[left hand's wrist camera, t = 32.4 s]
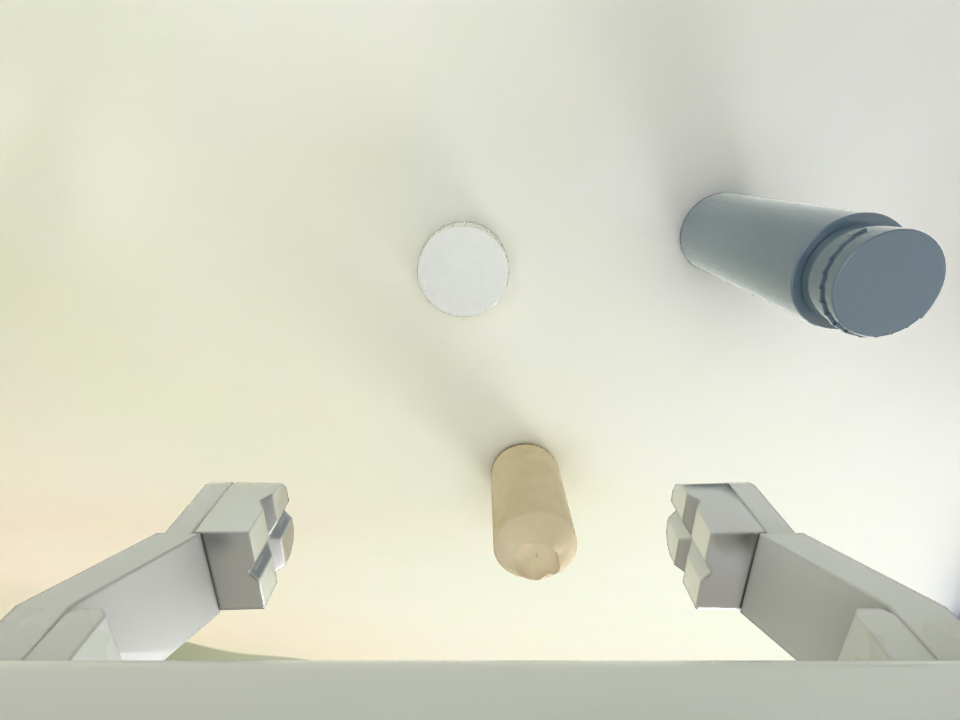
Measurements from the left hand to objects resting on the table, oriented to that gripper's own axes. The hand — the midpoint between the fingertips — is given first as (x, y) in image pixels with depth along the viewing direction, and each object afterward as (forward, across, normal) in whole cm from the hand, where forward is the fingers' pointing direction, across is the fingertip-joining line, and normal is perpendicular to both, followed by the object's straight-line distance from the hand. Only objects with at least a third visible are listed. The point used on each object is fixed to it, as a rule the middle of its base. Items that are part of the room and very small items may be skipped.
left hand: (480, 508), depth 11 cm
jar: (+27, +16, +2) cm, 31 cm away
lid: (+24, -1, 0) cm, 25 cm away
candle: (+27, +4, -17) cm, 32 cm away
